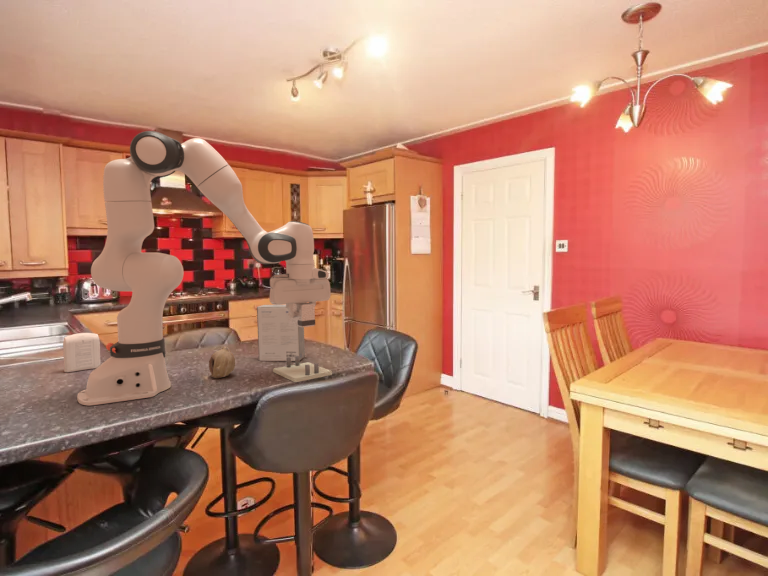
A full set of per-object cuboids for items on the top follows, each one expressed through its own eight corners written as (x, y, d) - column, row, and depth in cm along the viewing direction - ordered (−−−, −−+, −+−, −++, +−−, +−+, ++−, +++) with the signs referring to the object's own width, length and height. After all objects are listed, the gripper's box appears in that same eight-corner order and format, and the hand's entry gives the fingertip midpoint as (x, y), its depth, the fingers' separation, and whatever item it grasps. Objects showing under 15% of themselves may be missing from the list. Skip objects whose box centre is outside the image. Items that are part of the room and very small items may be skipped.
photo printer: (99, 365, 151) (97, 330, 150) (102, 367, 148) (100, 332, 147) (63, 371, 143) (60, 334, 142) (65, 373, 140) (63, 336, 139)
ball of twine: (220, 380, 141) (220, 349, 143) (242, 377, 139) (242, 346, 141) (200, 378, 132) (201, 346, 135) (223, 376, 130) (224, 343, 133)
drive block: (302, 327, 133) (301, 305, 133) (288, 323, 140) (288, 302, 140) (315, 325, 136) (315, 303, 136) (301, 322, 143) (300, 301, 143)
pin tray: (295, 382, 130) (295, 368, 129) (273, 372, 141) (273, 359, 141) (332, 374, 138) (331, 361, 138) (308, 365, 149) (308, 353, 149)
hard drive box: (305, 357, 162) (304, 304, 161) (299, 362, 155) (298, 306, 153) (265, 356, 164) (264, 304, 162) (257, 361, 156) (256, 306, 155)
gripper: (274, 274, 128) (275, 321, 129) (332, 272, 141) (333, 314, 142) (265, 274, 133) (266, 318, 134) (322, 271, 146) (323, 312, 147)
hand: (301, 316), depth 138 cm, fingers closed on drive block, 4 cm apart
